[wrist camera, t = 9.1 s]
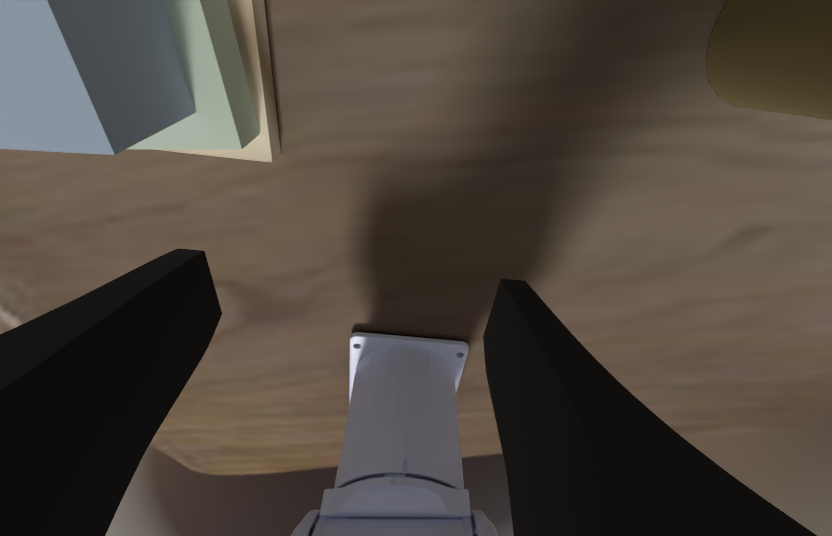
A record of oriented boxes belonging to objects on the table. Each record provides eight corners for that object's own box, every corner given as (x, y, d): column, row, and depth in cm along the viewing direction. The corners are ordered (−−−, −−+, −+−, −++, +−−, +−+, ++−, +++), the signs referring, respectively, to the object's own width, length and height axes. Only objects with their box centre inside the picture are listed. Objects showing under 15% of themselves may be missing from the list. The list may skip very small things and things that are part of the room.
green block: (260, 133, 16) (241, 149, 14) (100, 133, 16) (64, 149, 15) (205, -89, 12) (170, -102, 10) (-10, -87, 12) (-77, -100, 10)
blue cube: (196, 112, 14) (114, 154, 10) (71, 105, 14) (-56, 146, 10) (150, -48, 11) (16, -69, 7) (-5, -58, 11) (-218, -84, 7)
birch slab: (285, 147, 18) (272, 162, 17) (97, 126, 18) (65, 139, 16) (259, -105, 13) (236, -119, 11) (-10, -145, 13) (-73, -165, 11)
